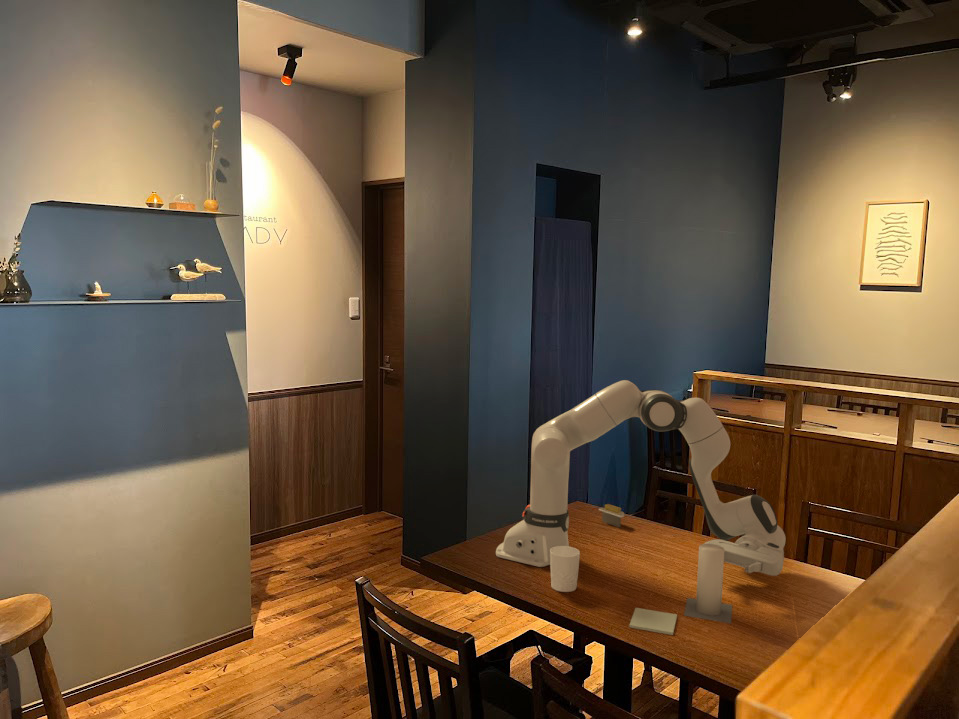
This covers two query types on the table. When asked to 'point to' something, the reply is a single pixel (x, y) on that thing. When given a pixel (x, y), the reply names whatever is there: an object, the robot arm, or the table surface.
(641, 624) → the coaster pad
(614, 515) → the platform
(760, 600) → the table surface
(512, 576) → the table surface
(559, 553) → the white cup
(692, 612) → the mat
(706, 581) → the ceramic canister
